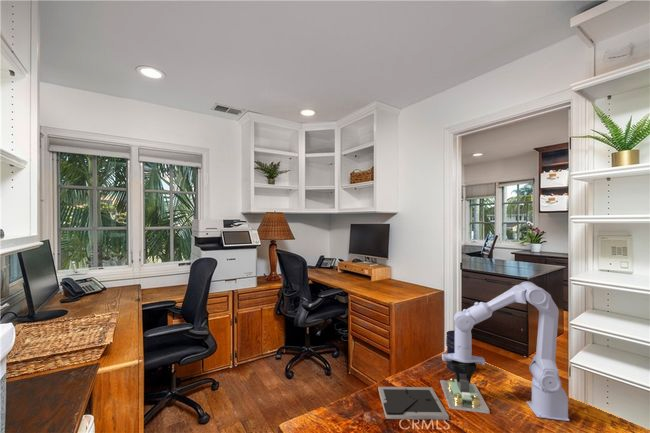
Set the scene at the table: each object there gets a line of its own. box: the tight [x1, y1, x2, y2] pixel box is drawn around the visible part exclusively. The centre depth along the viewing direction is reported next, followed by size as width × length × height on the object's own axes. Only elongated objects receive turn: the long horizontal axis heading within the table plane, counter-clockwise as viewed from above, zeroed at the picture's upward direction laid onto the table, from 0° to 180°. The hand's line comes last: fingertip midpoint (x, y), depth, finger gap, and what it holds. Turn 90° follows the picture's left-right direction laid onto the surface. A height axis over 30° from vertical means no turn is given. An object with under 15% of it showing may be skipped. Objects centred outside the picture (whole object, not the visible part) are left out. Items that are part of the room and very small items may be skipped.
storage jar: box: [445, 330, 466, 375], centre depth 126 cm, size 10×10×15 cm
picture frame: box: [377, 386, 450, 421], centre depth 102 cm, size 16×3×21 cm
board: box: [449, 374, 478, 401], centre depth 106 cm, size 8×12×5 cm, turn 168°
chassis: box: [439, 377, 491, 414], centre depth 106 cm, size 13×16×4 cm
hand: (462, 381), depth 106 cm, fingers closed on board, 3 cm apart
